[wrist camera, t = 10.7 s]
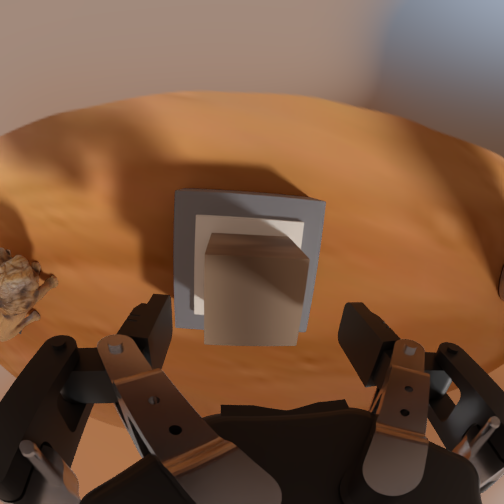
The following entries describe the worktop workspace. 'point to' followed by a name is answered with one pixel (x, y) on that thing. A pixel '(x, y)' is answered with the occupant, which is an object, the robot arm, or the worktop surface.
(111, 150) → the worktop surface
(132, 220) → the worktop surface
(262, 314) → the tan cube
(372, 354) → the robot arm
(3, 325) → the lion figurine
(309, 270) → the base brick
